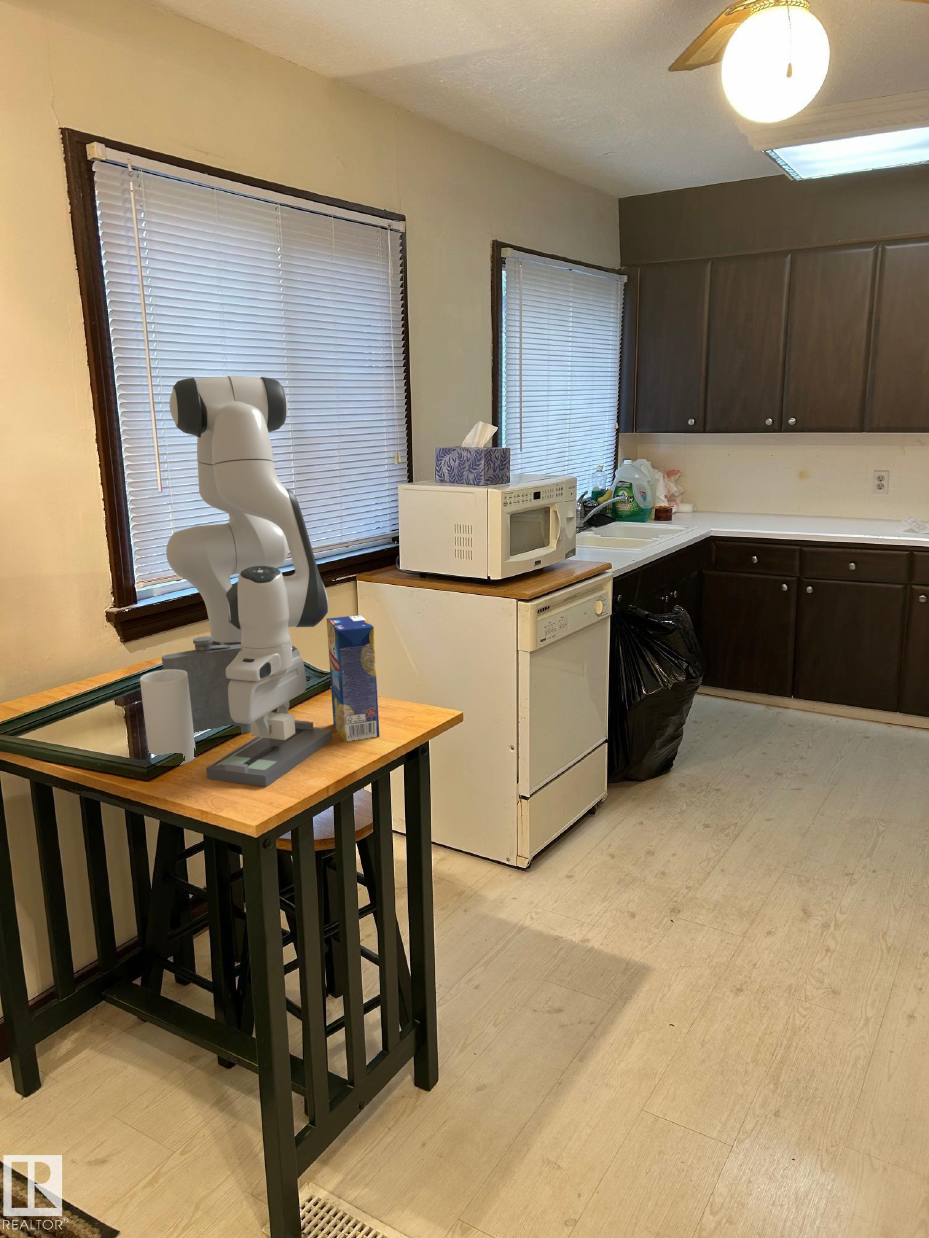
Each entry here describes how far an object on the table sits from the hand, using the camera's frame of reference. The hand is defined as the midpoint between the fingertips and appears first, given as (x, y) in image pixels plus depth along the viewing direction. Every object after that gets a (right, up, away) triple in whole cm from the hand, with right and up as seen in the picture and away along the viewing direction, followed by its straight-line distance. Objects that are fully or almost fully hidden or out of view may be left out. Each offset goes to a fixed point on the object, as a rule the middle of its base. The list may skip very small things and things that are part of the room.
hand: (273, 730), depth 163 cm
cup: (-19, -6, +2) cm, 20 cm away
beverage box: (+13, -2, +14) cm, 19 cm away
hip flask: (-15, -3, +13) cm, 20 cm away
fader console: (0, -5, 0) cm, 5 cm away
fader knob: (0, -3, +1) cm, 3 cm away
